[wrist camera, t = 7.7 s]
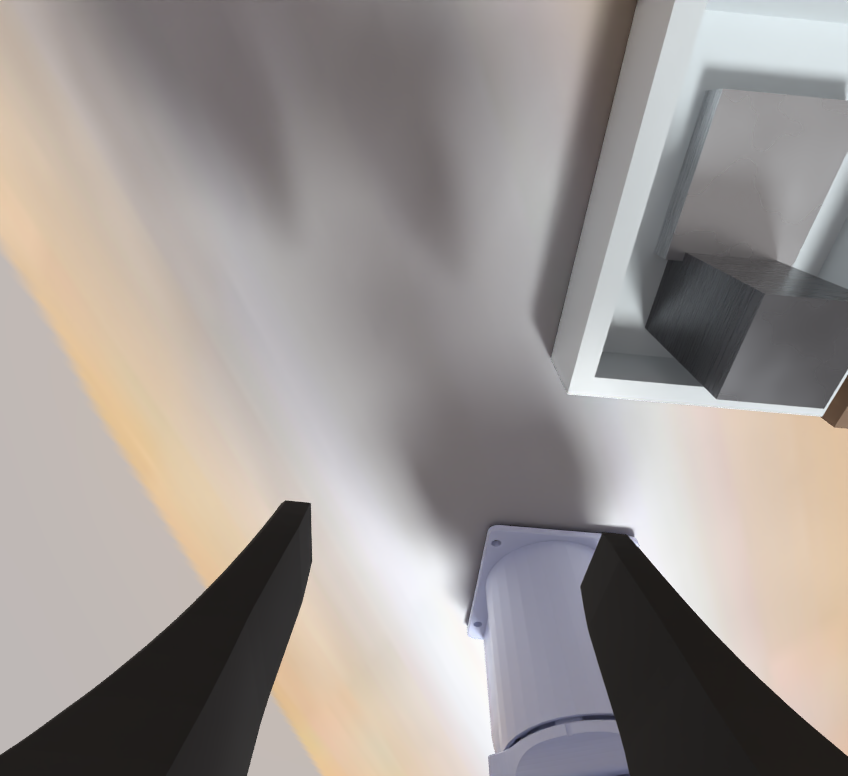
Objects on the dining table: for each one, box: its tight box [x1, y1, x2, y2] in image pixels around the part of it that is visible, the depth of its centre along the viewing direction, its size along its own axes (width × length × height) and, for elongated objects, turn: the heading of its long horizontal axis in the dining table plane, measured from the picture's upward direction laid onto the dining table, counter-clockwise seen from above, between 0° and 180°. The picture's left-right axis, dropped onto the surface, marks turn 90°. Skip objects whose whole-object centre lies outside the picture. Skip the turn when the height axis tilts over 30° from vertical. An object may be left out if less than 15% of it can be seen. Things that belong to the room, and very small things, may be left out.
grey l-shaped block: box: [645, 88, 848, 409], centre depth 14 cm, size 8×4×6 cm, turn 175°
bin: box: [551, 0, 848, 417], centre depth 15 cm, size 13×10×3 cm
